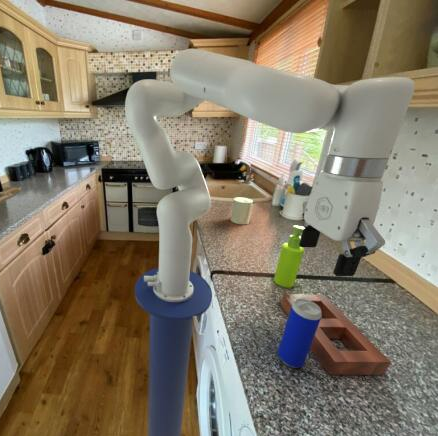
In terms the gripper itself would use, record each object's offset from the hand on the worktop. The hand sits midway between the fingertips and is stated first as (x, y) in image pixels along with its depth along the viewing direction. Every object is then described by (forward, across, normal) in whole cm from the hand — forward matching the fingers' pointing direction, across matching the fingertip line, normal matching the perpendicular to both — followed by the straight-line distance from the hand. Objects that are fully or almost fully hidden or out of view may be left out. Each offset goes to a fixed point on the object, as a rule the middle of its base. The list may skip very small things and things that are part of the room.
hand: (323, 259), depth 45 cm
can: (+25, -77, +16) cm, 83 cm away
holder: (+26, -6, +11) cm, 29 cm away
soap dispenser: (+26, -26, +12) cm, 39 cm away
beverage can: (+26, 0, -1) cm, 26 cm away
